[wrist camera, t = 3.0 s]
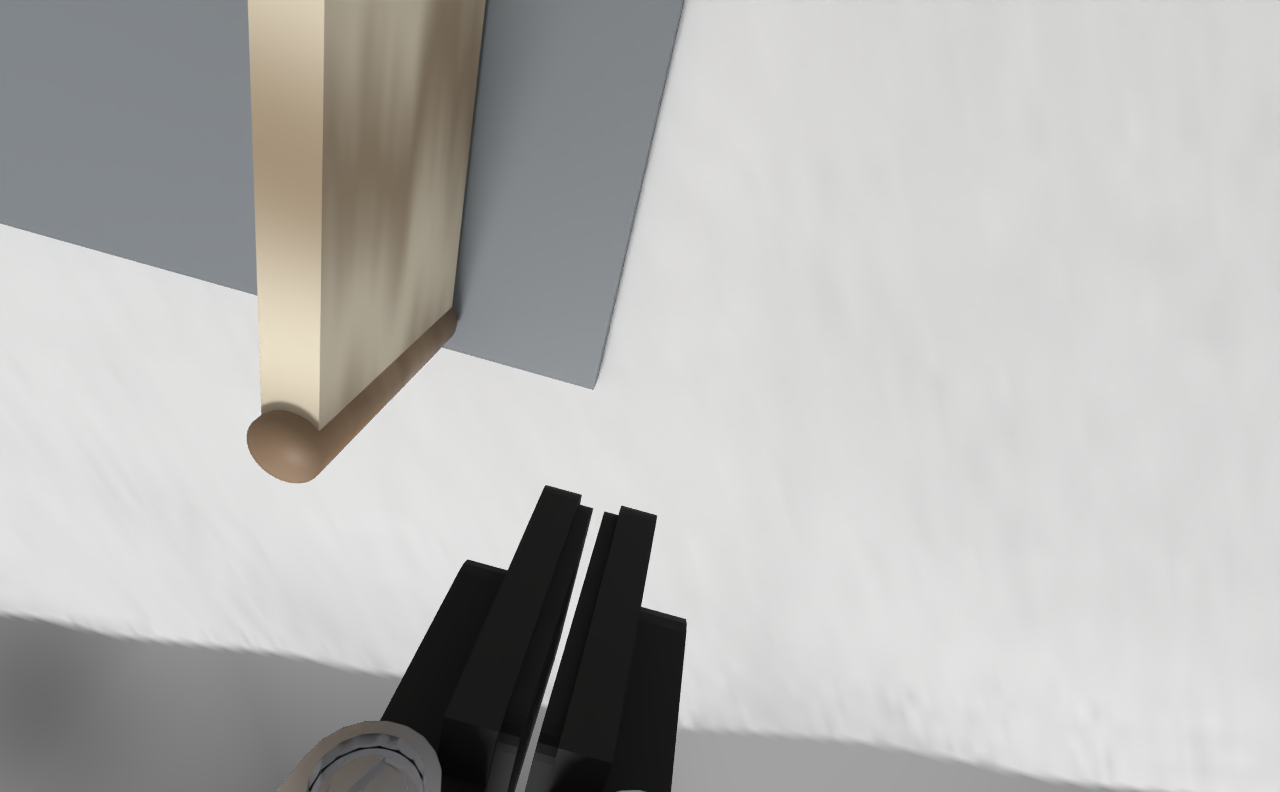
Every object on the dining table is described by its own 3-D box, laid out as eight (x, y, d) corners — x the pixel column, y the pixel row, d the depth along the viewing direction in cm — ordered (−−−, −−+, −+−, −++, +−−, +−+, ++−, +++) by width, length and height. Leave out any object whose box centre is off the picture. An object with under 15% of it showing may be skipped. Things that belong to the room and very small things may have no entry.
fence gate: (438, -167, 15) (213, -291, 9) (510, -148, 15) (334, -259, 9) (401, 334, 21) (248, 470, 15) (454, 349, 21) (322, 492, 15)
